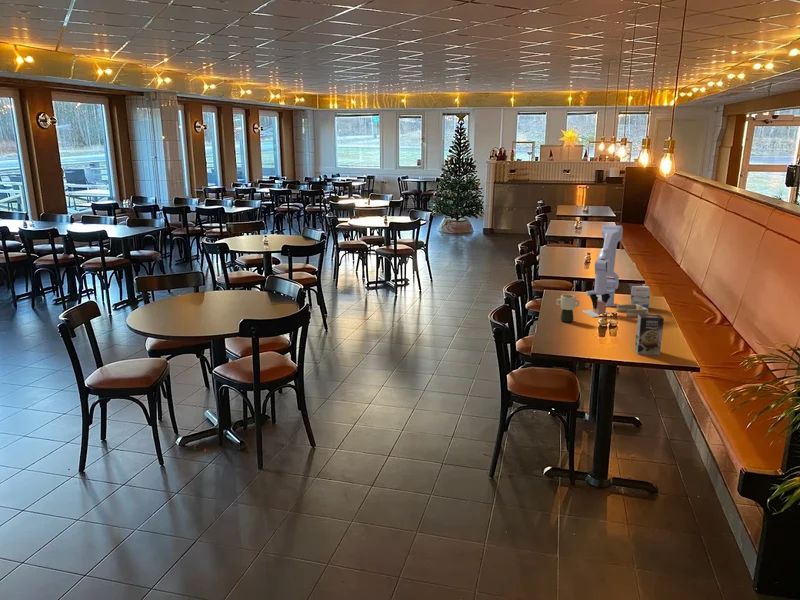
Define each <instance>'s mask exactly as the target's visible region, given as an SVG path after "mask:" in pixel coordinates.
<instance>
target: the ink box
mask: <svg viewBox="0 0 800 600" xmlns="http://www.w3.org/2000/svg"><path fill="white" fill-rule="evenodd" d="M650 294H651V288H650V286H647V285H632V286H631V291H630V303H629V304H638V305H640V306H642V307H644V308H646V309H648V310H649V309H650V308H649V306H650V305H649V304H650Z"/></svg>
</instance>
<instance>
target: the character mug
mask: <svg viewBox="0 0 800 600" xmlns="http://www.w3.org/2000/svg"><path fill="white" fill-rule="evenodd" d="M576 298H577V297H576V295H573V294H561V295H560V298H556V305H557V306H560V308H561V314H560V320H561V321H562V322H566V323H567V322H568V323H569V322H574V311H573V310H574V309H576V308H577V307H578V308H579V307H580V300H578V299H576ZM576 303H577V304H576Z"/></svg>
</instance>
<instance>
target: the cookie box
mask: <svg viewBox="0 0 800 600" xmlns="http://www.w3.org/2000/svg"><path fill="white" fill-rule="evenodd" d="M664 321H665V320H664V317H663V316H662V315H660V314H649V313H648V314H638V317H637V322H636V323H637V324H636V332H635V333H636V334H635V342H634V351H635V353H636V354H637V355H643V356H644V355H647V356H660V355H661V348H662V339H663V338H662V337H663V332H664V331H663V329H664Z"/></svg>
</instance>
